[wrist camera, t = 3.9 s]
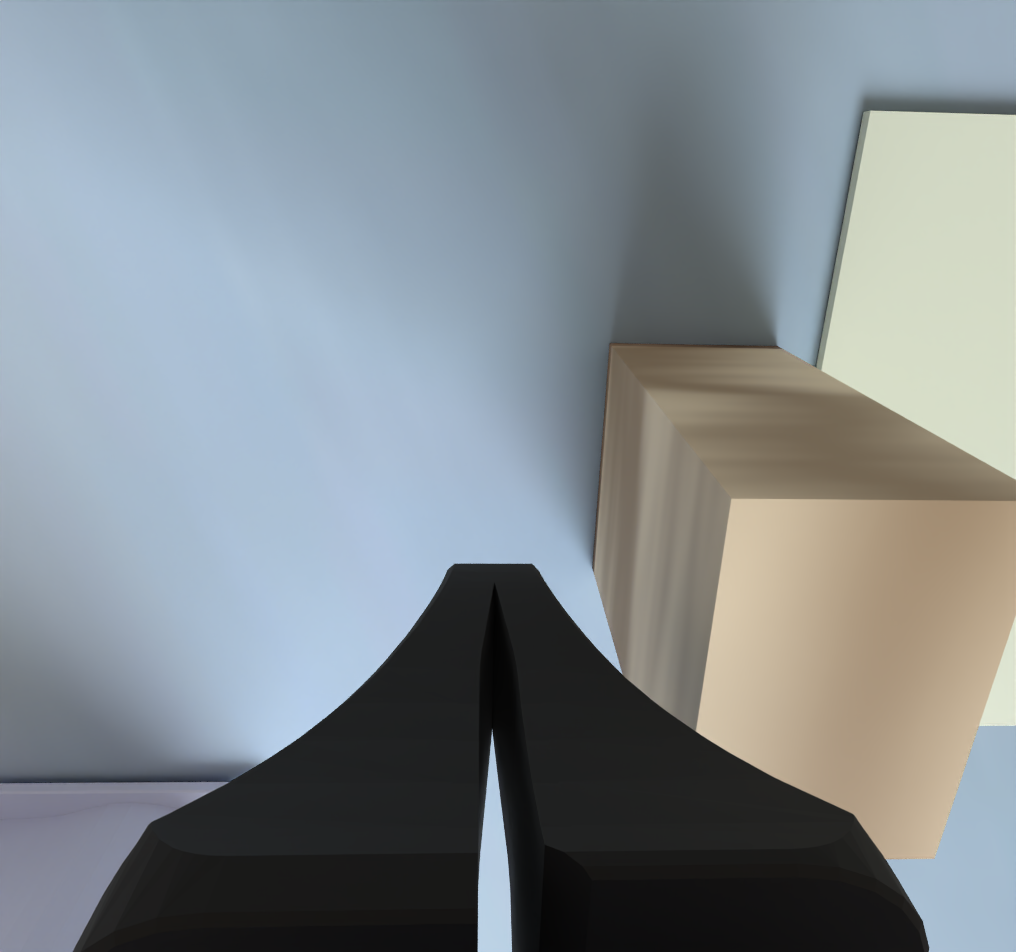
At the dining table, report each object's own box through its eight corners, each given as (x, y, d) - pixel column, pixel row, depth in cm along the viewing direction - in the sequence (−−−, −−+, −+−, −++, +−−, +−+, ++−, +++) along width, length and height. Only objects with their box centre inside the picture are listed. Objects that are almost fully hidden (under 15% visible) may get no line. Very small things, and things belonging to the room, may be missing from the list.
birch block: (592, 567, 19) (675, 861, 11) (609, 342, 17) (730, 498, 9) (741, 568, 19) (933, 858, 11) (777, 345, 17) (1054, 501, 9)
